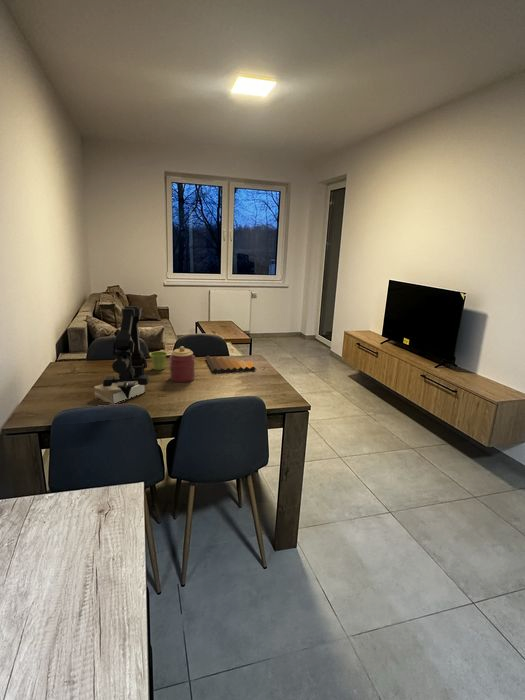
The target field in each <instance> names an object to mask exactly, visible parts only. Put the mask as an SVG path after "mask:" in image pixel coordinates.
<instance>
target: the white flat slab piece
mask: <svg viewBox="0 0 525 700" xmlns="http://www.w3.org/2000/svg"><path fill="white" fill-rule="evenodd" d="M144 392H145V393H146V385H136V386H134V387H132V388H131V391H130V395H129V399H132V398H135V397H136V395H137V396H139V395H141V394H145V393H144ZM131 397H132V398H131ZM125 399H127V397H126V396H125V394H124V392H123V391H120V392H117V393H114V394H113V402H114V403H117V402H119V401H122V400H124V401H126V400H125ZM127 400H128V399H127ZM122 402H123V401H122ZM119 403H120V402H119ZM117 404H118V403H117Z"/></svg>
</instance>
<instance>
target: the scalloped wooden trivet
mask: <svg viewBox="0 0 525 700" xmlns="http://www.w3.org/2000/svg"><path fill="white" fill-rule="evenodd" d="M204 359H205V360H207V361H206V363H207V365H208V366H209V369H210V370H211V372H212V374H224V373H226V374H227V373H241V372H240V371H243V372H255V371H256V370H257V368H256V367H255V365H254V364H253V362H252V361H249V360H248V361H246V362H245V361H244V360H242V359H240V361H238V360H237V359H236V358H234V359H233V360H232V359H231V358H229V357H227V358H224V357H223V356H221V357H219V358H218V357H216V356H213V357H212V356H211V355H206V356H205V357H204ZM237 370H238V371H237ZM254 370H255V371H254Z"/></svg>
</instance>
